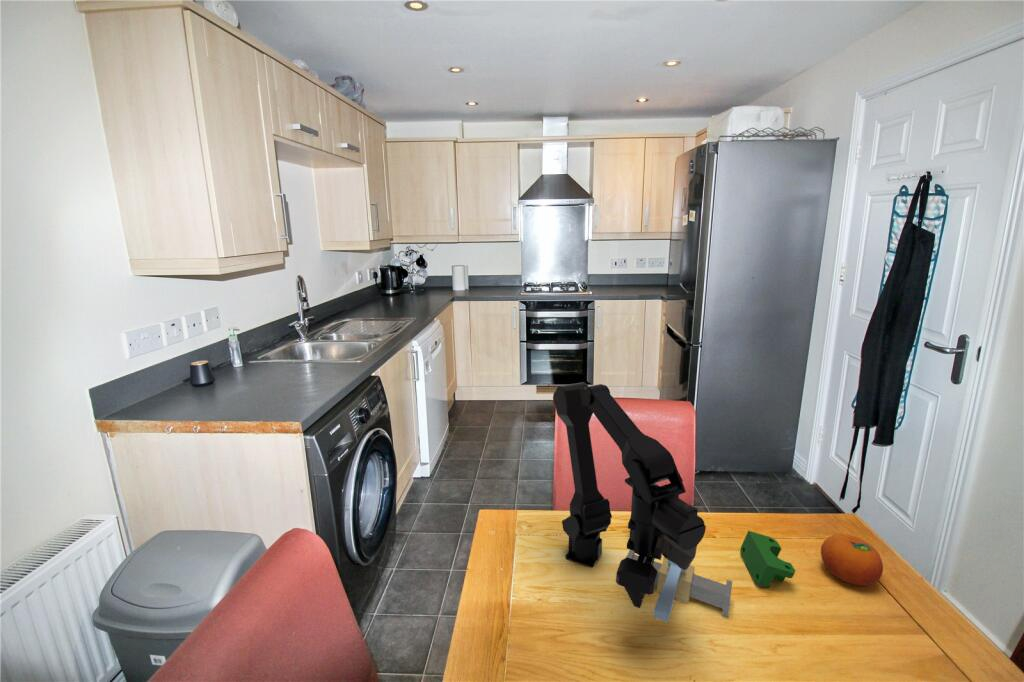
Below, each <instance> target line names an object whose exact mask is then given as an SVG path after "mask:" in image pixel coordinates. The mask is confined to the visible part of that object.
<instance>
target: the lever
mask: <svg viewBox="0 0 1024 682" xmlns="http://www.w3.org/2000/svg"><path fill="white" fill-rule="evenodd" d="M668 566H669V567H670V568H669V571H668V574H667V577H666V580H665V584H664V587H663V590H662V591H660V594H658V597H657V599H656V603H655V606H654V610H653V618H655V619H657V620H660V621H663V622H665V623H669V619H670V616H671V612H672V609H673V606H674V603H675V599H674V594H675V591H676V588H677V584H678V581H679V577H680V574H681V572H684V571H685V570H683V569H681V568H679V566H678V565H676V564H675V563H673V562H671V561H670V560H668Z"/></svg>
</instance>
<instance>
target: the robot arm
mask: <svg viewBox="0 0 1024 682" xmlns="http://www.w3.org/2000/svg"><path fill="white" fill-rule="evenodd" d="M552 401H553V402H552V403H553V404H554V407H555V412H556V415H557V416H558V417H559V419H560V420H561V421H562V422H563V424H564V425H565V427H566V435H567V443H568V449H569V456H570V463H571V471H572V478H573V485H574V493H573V496H572V498H571V501H570V503H569V516H568V517H566V518H564V519H562V520H561V525H562V530H563V532H564V533H565V534H566V535H567V536H568V551H567V553H566V554H565V555H564V556H565V559H566V560H569V561H571V562H574V563H577V564H580V565H583V566H585V567H589V568H591V569H592V568H594V567H595V565H596V563H597V562H598V561H600V558H601V556H602V552H603V550H602V548H603V539H602V538H601V534H602V533H603V532H604V533H605V532H607V530H608V528H609V527H610V525H611V523H612V519H613V516H612V512H611V507H610V505H611V502H610V501H609V499H608V498H605V497H604V496H603V494H602V493H601V492H600V491H599V487H598V479H597V475H596V474H597V473H596V466H595V460H594V459H595V458H594V453H593V452H594V451H593V445H592V438H591V431H590V421H591V419H592V416H593V415H594V416H595V417H596V419H597V420H598V422H599V423H600V425H602V427H603V428H604V430H605V431H606V433H608V435H609V436H610V437H611V439H612V440H613V442H614V443H615V444H616V445H617V447H618V449H619V451H620V453H621V463H622V466H623V467H624V469H625V471H626V473H627V474H628V476H629V477H627V478H625V479H624V483H625V484H626V485H628V486H629V487H631V489H632V491H631V507H630V509H631V510H630V518H629V521H628V523H627V529H629V537H628V539H627V543H626V549H627V550H633V551H634V553H635V555H636V554H637V556H638V559H637V560H634V559H631V558H627V556H626V557H625V558H623V559H621V560H620V561H619V564H618V568H617V570H616V574H615V583H616V584H617V585H618V586H619V587H623V588H624V590H625V592H626V594H627V595H628V597H629V599H630V602H631V603H632V605H633V607H634V608H637V609H641V607H642V603H643V600H644V598H645V595H648V596H650V595H654V593H655V589H656V586H657V585H656V581H657V573H658V571H657V570H656V569H655V567H654V566H653V563H654V561H655V560H659V561H661V560H662V556H663V558H664V557H665V558H666V559H668V560H670V561H671V562H673V563H675V564H676V565H678V566H679V568H681V569H683V570H687V569H688V567H689V565H691V564H692V562H693V560H694V559H695V558H696V554H697V549H698V548H697V547H698V545H699V544H700V543H701V542H702V541H703V538H704V535H705V533H706V529H707V528H706V527H707V526H706V525H705V521H704V519H703V518H702V517H700V515H698V513H699V512H698V509H697V508H696V507H694V506H693V505H691V504H688V503H687V502H685V501H684V500H682V499H681V498H680V495H682V494H686V492H687V490H686V488H685V486H684V483H683V481H684V480H683V478H682V476H681V474H680V473H679V470H678V467H677V465H676V462H675V459H674V457H673V454H671V452H670V450H668V449H667V448H666V447H665V446H663V444H662V443H661V442H660V441H659V440H657V439H655V438H653V437H650V436H649V435H647V434H644V432H642V431H641V430H640V428H638V426H637V424H635V423H634V421H633V420H632V419H631V418H630V416H629V415H628V413H626V411H625V410H624V409H623V408H622V407H621V405H620V404H619V403H618V402H617V401H616V399H615V398H614V397H613V395H611V391H610V389H609V387H608V385H605V384H601V383H599V384H593V385H588V383H586V382H584V381H582V382H577V383H576V382H575V383H569V384H566V385H564V384H563V385H559V386H557V388H556V389H555V391H554V392H553V395H552ZM667 480H668V482H669V483H667V484H663V485H659V484H658V483H661V482H662V481H667Z"/></svg>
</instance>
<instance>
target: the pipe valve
mask: <svg viewBox="0 0 1024 682" xmlns="http://www.w3.org/2000/svg"><path fill="white" fill-rule="evenodd" d="M638 556H639V555H638V554H637V555H636V553H634V551H633V550H630V549H628V553H627V554H626V557H627V558H631V559H634V560H637V559H638ZM653 566H654V567H655V569H656V570H657V571H658V573H657V581H656V586H657V588H656V589H657V590H656V591H657V595H659V594H660V591H662V590H663V587H664V584H665V580H666V577H667V574H668V571H669V568H670V567H669V566H668V559H666V558H665V557H664V556H663V560H662V562H659V561H655V560H654V563H653ZM695 569H696V567H695V566H693V565H691V564H690V565H689V567H688V569H687V570H685V571H684V572H681V574H680V577H679V581H678V584H677V588H676V591H675V594H674V601H678V602H680V603H683V604H686V605H689V604H690V600H691V598H693V599H695V600H698V601H701V602H704V603H707V604H709V605H712V606H715V607H716V608H717V607H718V608H720V609H722V612H721V613H722V614H721V616H722V617H724V618H729V613H730V612H729V611H730V604H731V597H732V588H733V580H729V579H726V583H725V584H724V583H722V582H718V581H715V580H713V579H710V578H707V577H704V576H701V575H697V574H695Z"/></svg>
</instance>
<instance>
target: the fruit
mask: <svg viewBox="0 0 1024 682" xmlns="http://www.w3.org/2000/svg"><path fill="white" fill-rule="evenodd" d="M820 557H821V559H822V562H823V564H824V566H825V568H826V569H827V570H828V571H829V573H831V574H832V575H833V576H835V577H836V578H838V579H839V580H841V581H843V582H844V583H845V582H846V583H849V584H852V585H858V586H868V585H871V584H874V583H876V582H878V581H879V580H880V578H882V576H883V572H884V571H883V570H884V565H883V561H882V557H881V555H880V553H879V552H878V550H877V549H876V548H875V547H874V546H872V544H870V543H869V542H867V541H866V540H864V539H863V538H861V537H857V536H854V535H852V534H846V533H835V534H832V535H830V536H828V537H827V538H826V539H824V541H823V543H821V546H820Z"/></svg>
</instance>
